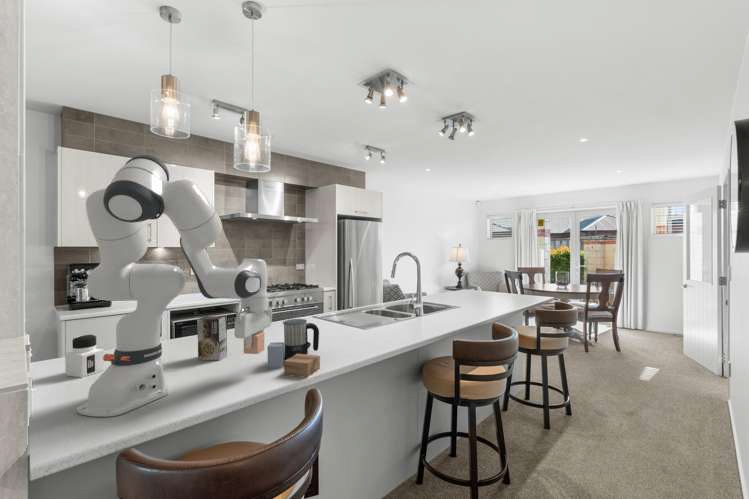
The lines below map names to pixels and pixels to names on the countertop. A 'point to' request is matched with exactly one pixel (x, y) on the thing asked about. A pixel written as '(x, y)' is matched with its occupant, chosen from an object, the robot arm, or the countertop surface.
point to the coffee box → (212, 337)
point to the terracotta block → (255, 344)
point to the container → (84, 357)
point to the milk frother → (298, 337)
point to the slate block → (276, 355)
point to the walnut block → (302, 365)
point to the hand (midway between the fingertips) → (254, 345)
